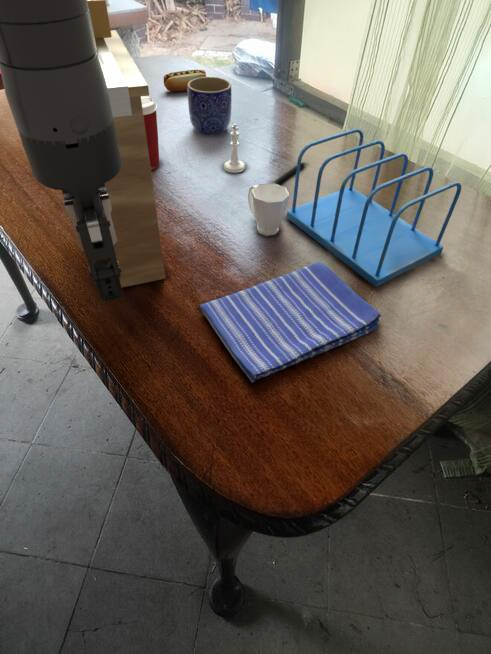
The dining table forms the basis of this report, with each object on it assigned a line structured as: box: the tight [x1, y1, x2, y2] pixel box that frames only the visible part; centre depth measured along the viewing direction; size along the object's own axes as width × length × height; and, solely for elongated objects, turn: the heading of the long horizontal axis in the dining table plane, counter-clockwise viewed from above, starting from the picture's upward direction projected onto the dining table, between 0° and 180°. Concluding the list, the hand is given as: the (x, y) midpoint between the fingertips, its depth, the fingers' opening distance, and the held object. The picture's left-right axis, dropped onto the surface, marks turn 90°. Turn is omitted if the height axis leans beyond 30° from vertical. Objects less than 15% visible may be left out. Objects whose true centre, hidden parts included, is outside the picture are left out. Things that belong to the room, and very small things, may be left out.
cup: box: [247, 182, 291, 237], centre depth 86 cm, size 7×10×8 cm
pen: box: [272, 162, 305, 185], centre depth 102 cm, size 1×16×1 cm, turn 144°
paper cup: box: [141, 96, 160, 171], centre depth 100 cm, size 8×8×14 cm
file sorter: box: [286, 128, 462, 288], centre depth 82 cm, size 25×17×15 cm
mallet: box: [87, 0, 132, 118], centre depth 53 cm, size 22×5×7 cm, turn 20°
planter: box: [186, 76, 233, 136], centre depth 115 cm, size 11×11×11 cm
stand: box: [104, 29, 166, 288], centre depth 73 cm, size 25×10×31 cm, turn 20°
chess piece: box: [223, 123, 246, 174], centre depth 102 cm, size 5×5×10 cm
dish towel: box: [198, 261, 382, 383], centre depth 71 cm, size 17×24×3 cm
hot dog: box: [163, 69, 207, 93], centre depth 136 cm, size 5×13×5 cm, turn 115°
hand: (105, 272), depth 48 cm, fingers open, 8 cm apart
